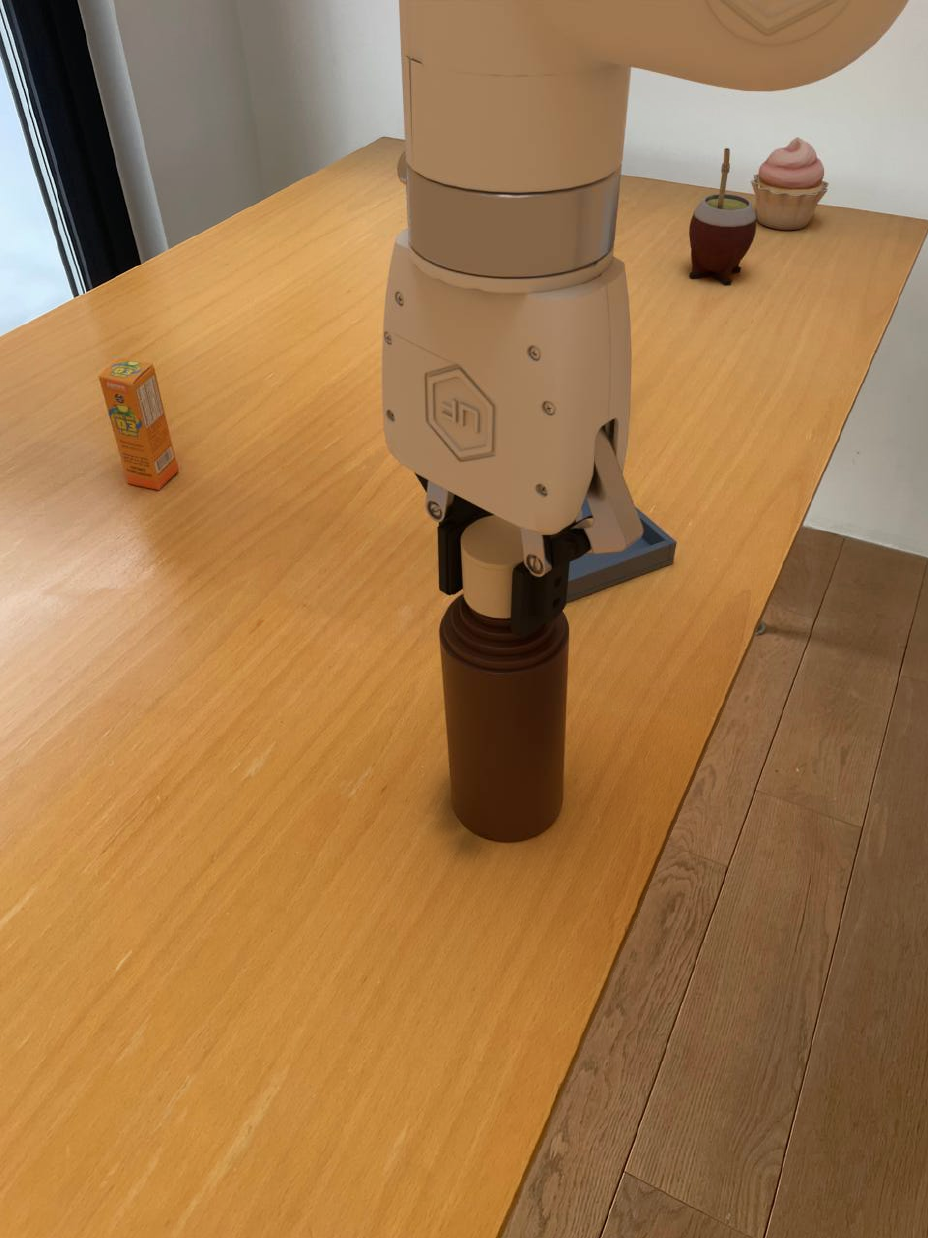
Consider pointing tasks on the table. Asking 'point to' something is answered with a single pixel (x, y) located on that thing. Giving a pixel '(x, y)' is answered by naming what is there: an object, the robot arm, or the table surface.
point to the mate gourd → (721, 232)
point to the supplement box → (139, 423)
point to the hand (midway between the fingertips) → (500, 598)
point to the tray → (620, 560)
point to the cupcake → (789, 186)
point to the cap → (490, 565)
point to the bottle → (504, 721)
